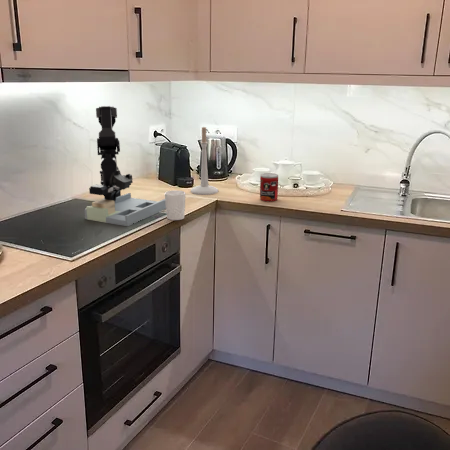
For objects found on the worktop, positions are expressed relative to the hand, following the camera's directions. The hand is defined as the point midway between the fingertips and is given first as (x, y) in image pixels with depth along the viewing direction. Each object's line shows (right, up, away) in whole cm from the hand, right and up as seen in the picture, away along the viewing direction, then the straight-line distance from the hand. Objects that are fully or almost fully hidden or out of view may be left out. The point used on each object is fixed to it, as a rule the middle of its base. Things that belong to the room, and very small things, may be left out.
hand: (112, 207), depth 200 cm
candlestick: (+35, +8, +37) cm, 51 cm away
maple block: (-2, -2, -4) cm, 5 cm away
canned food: (+63, +4, +24) cm, 68 cm away
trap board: (+6, -2, +3) cm, 7 cm away
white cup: (+25, -5, -3) cm, 26 cm away
